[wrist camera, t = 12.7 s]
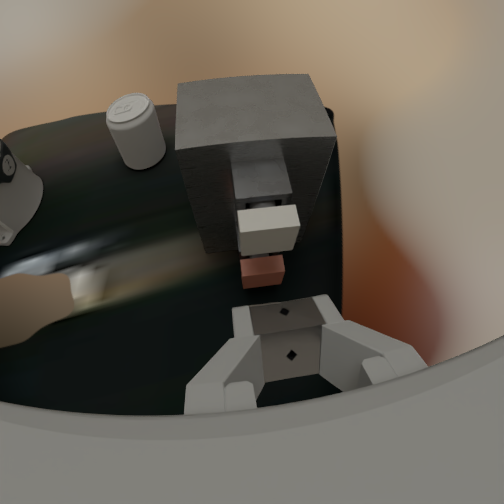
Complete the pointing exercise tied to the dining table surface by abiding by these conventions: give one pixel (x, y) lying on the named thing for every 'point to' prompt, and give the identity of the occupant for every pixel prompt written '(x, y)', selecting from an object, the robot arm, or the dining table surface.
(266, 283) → the brown block
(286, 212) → the white key
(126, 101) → the beverage can
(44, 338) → the dining table surface
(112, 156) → the dining table surface
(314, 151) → the box
